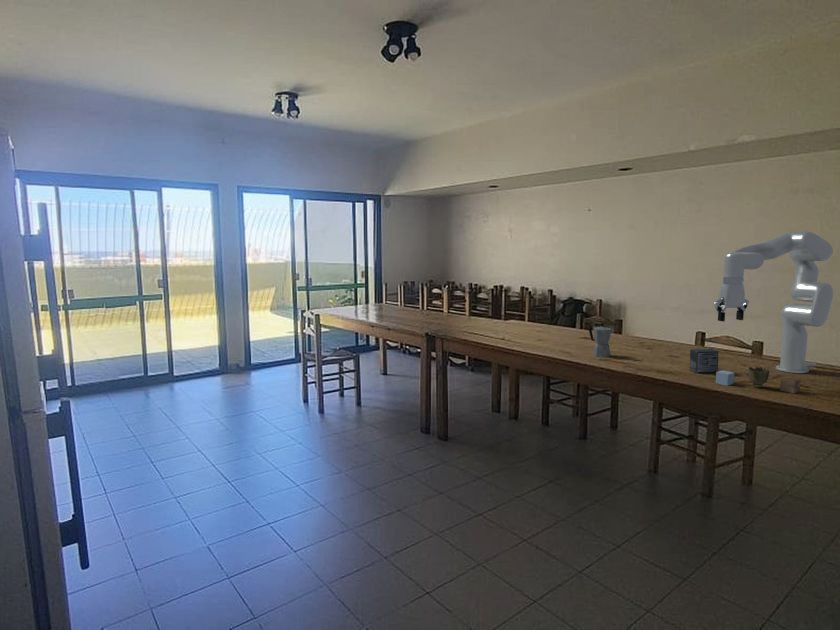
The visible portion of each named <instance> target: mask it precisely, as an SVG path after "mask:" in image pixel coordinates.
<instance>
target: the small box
mask: <svg viewBox="0 0 840 630" xmlns="http://www.w3.org/2000/svg"><path fill="white" fill-rule="evenodd" d="M689 371H690V372H693V373H695V374H712V373H713V374H714V373H715V374H716V372H718V371H719V350H716V349H712V348H701V349H698V348H697V349H690V351H689Z"/></svg>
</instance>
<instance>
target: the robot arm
mask: <svg viewBox="0 0 840 630" xmlns="http://www.w3.org/2000/svg"><path fill="white" fill-rule="evenodd" d="M833 249H834V248H833V246H832V245H831V244H830V242H829V241H827V240H826V239H824V238H823V237H822V236H820V235H818V234H816V233H814V232H811V231H808V230H806V231H805V230H804V231H787V232H784V233H782V234H779V235H778V236H775V237H773V238H770V239H769V240H766V241H762V242H758V243H755V244H750V245H747V246H744V247H741V248H739V249H738V248H737V249H736V250H734V251H732V252H730V253H726V254H725V255H724V259H723V262H724V263H723V279H722V284H721V286H719V287H720V288H719V292H718V298H717V300H715V301H714V302H713V304H714V307H715V310H716V311H717V321H719V322H725V321H726V312H725V311H726V310H727V309H733V308H734V309H735V308H736V309H737V310H736V318H735V319H736V320H737V321H744V314H745V311H746V309H747V308H748V305H749V304H750V300H749V299H746V298H745V296H746V294H745V285H744V282H745V278H744V277H745V270H746V271H747V270H748V271H749V270H751V271H752V270H758V269H760V268H761V267H762V266H763V265H764V261H768V260H774V259H777V258H779V257H781V256H783V255H786V254H787V253H788V256H789V257H790V259H791V260H792V262H793V263H794V266H795V274H794V277H793V282H792V287H791V291H790V296H791V299H793V300H794V301H797V302H803V303H802V304H801V303H788V304H785V305H784V307H783V308H782V309H781V313H780V314H781V321H782V334H781V335H782V338H781V349H780V359H779V360H780V361H779V362H780V363H779V364H777V365H776V366H775V370H777V371H781V372H785V373H791V374H793V373H794V374H808V373H809V371H810V369H809V368H810V367H812V368H814V367H816V366H817V363H816V362H809V361H807V359H806V358H807V348H808V347H807V346H808V337H809V336H808V330H807V328H806V327H805V326H808V327H813V328H819V327H822V326H823V325H824V324H825V323H826V322H827V320H828V318H829V314H830V310H831V305H832V302H833V297H834V289H833V286H832V285H831V284H830V283H828V282H825V281H818V277H819V272H820V270H819V268H818V265H817V264H816V262H823V261H824V262H825V261H828V260H829V259H830V258H831V257H832V255H833V253H834V251H833ZM804 302H805V304H804ZM806 303H812V304H806Z"/></svg>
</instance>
